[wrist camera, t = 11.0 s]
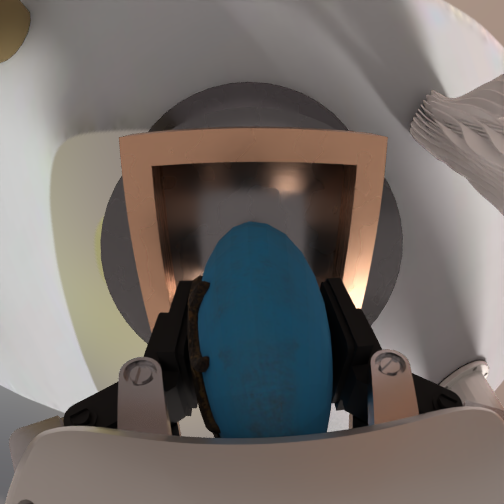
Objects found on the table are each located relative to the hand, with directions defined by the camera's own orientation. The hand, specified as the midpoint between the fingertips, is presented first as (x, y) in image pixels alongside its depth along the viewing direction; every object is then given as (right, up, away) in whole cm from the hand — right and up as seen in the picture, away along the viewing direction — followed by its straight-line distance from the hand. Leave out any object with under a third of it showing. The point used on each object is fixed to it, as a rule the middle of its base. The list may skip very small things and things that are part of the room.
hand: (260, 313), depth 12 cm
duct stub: (-1, +6, +11) cm, 13 cm away
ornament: (0, +1, +2) cm, 2 cm away
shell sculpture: (+14, +13, +8) cm, 21 cm away
